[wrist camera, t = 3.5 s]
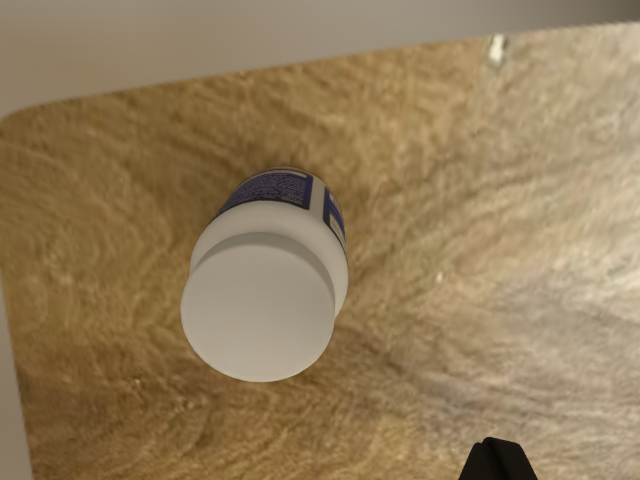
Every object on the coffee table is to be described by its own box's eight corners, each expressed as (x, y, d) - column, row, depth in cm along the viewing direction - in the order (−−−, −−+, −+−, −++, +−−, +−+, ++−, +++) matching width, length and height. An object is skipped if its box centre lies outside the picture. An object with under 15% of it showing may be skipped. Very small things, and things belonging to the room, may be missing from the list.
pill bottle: (206, 238, 24) (128, 342, 15) (264, 141, 23) (217, 186, 13) (304, 295, 25) (289, 427, 16) (366, 205, 23) (391, 291, 14)
